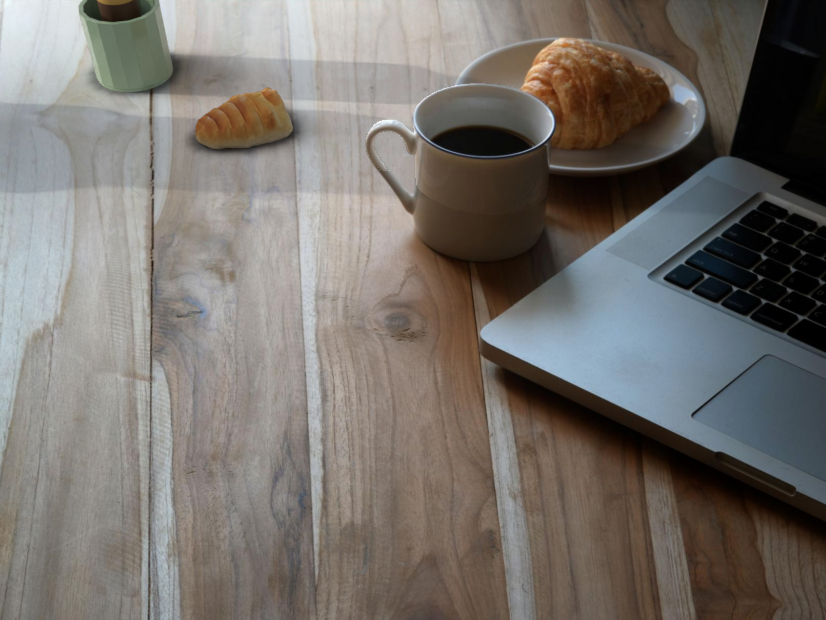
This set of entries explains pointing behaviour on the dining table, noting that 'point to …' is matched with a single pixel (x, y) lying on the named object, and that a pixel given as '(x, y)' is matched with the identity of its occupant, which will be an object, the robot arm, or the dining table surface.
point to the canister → (128, 48)
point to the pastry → (245, 121)
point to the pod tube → (119, 10)
